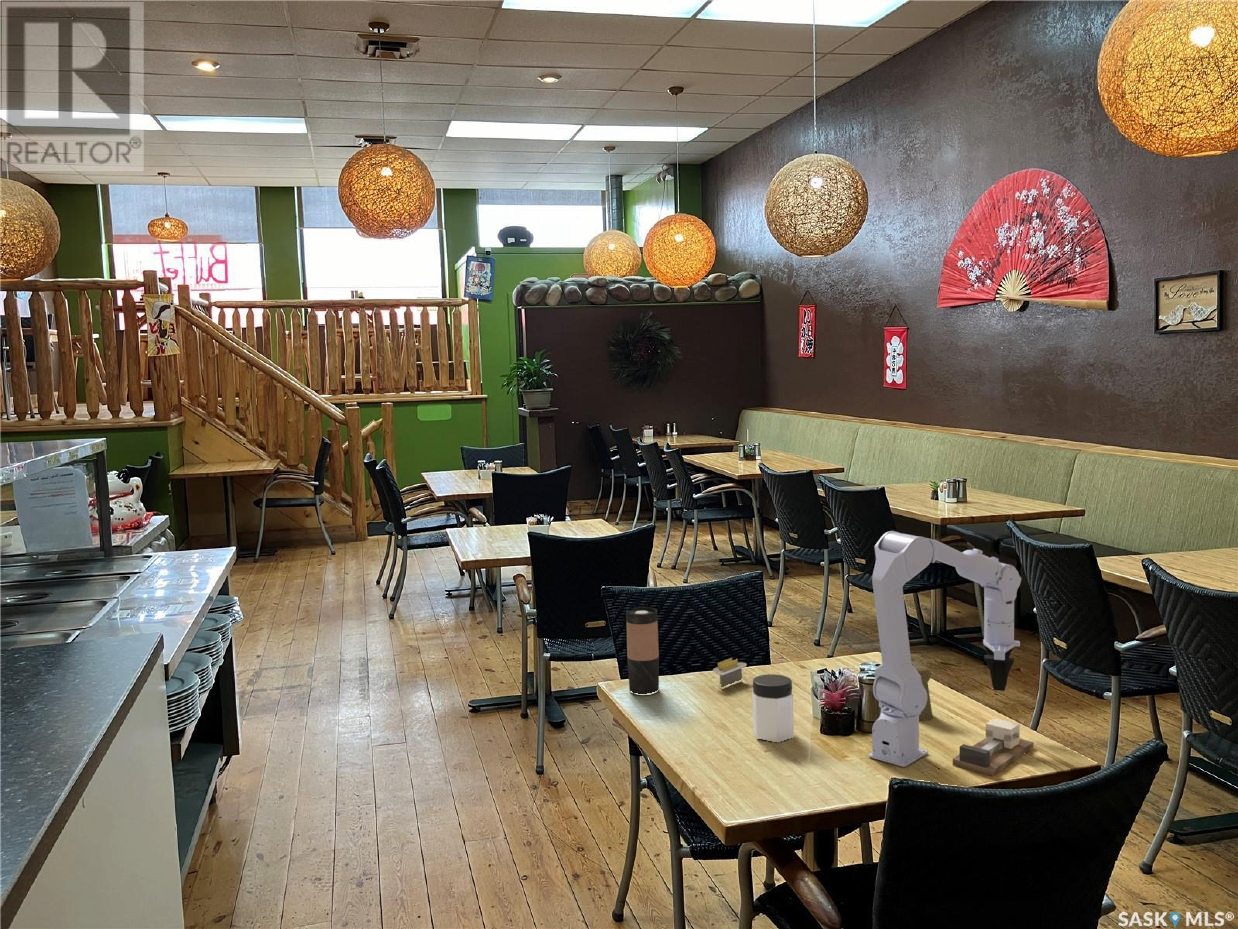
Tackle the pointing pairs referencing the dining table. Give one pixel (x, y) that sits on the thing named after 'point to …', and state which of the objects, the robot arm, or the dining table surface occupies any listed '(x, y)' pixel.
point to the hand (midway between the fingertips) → (998, 684)
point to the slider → (1003, 732)
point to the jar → (773, 708)
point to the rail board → (990, 756)
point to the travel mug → (643, 650)
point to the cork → (925, 677)
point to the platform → (729, 671)
